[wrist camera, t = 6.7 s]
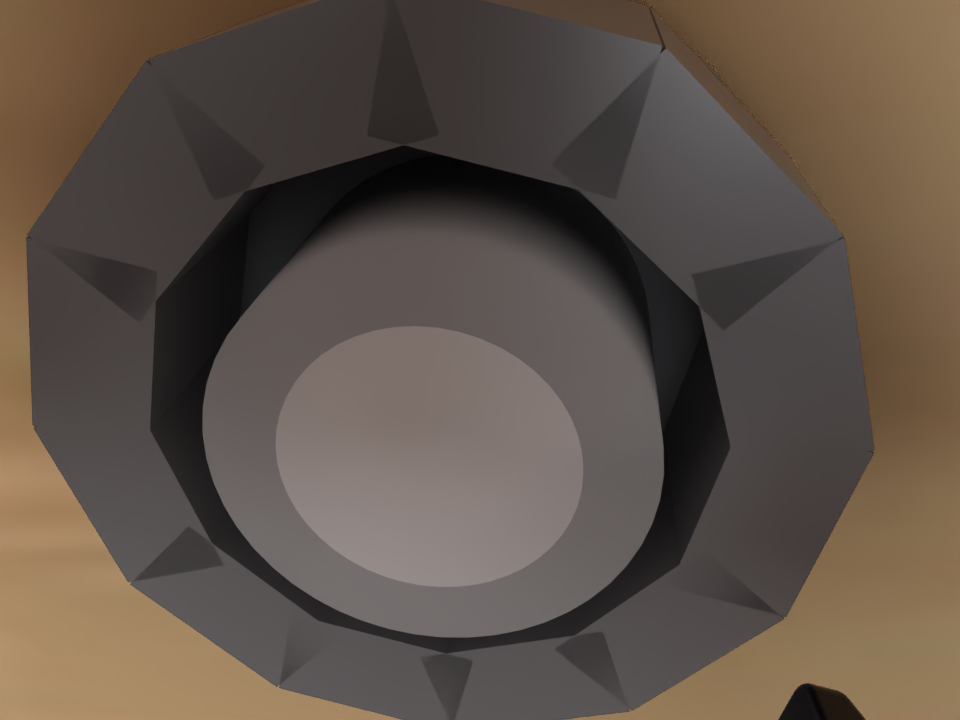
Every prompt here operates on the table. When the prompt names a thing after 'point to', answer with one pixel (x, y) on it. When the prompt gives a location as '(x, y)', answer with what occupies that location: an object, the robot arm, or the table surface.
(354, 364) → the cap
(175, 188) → the grey ring
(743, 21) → the table surface
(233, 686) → the table surface
